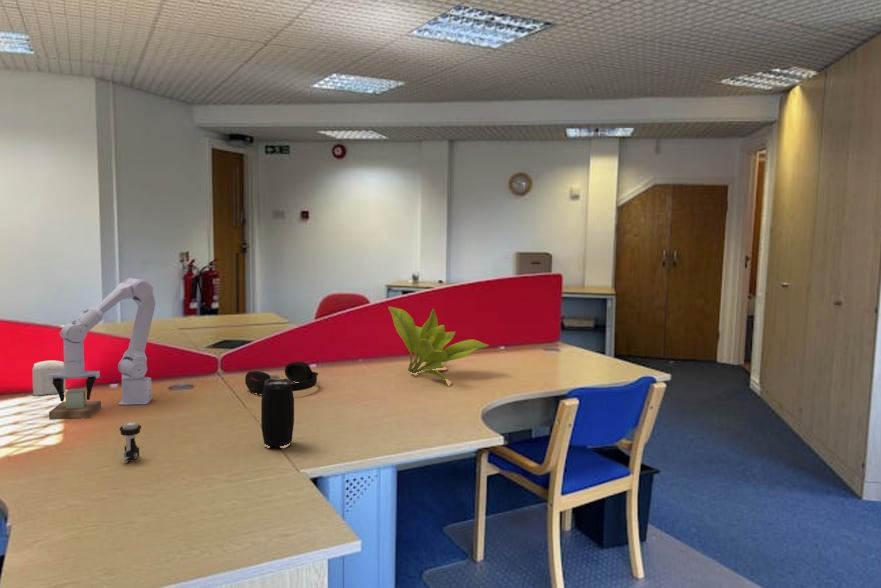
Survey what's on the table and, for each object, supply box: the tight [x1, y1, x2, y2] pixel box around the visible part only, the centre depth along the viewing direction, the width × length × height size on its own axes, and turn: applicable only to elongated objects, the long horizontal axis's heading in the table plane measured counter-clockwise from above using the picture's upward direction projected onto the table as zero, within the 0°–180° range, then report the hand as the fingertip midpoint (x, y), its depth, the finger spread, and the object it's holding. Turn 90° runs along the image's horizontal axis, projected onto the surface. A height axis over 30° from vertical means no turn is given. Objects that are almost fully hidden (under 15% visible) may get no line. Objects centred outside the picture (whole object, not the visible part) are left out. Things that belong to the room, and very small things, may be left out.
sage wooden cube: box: [65, 388, 87, 409], centre depth 216 cm, size 5×5×5 cm
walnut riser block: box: [48, 400, 102, 420], centre depth 217 cm, size 12×12×3 cm
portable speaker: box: [260, 378, 295, 446], centre depth 192 cm, size 9×9×20 cm
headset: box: [244, 361, 319, 394], centre depth 256 cm, size 28×26×9 cm
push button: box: [119, 421, 142, 464], centre depth 177 cm, size 7×5×10 cm
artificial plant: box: [387, 306, 490, 382], centre depth 282 cm, size 42×43×30 cm
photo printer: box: [32, 359, 66, 397], centre depth 238 cm, size 10×4×12 cm, turn 123°
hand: (75, 399), depth 216 cm, fingers open, 7 cm apart
